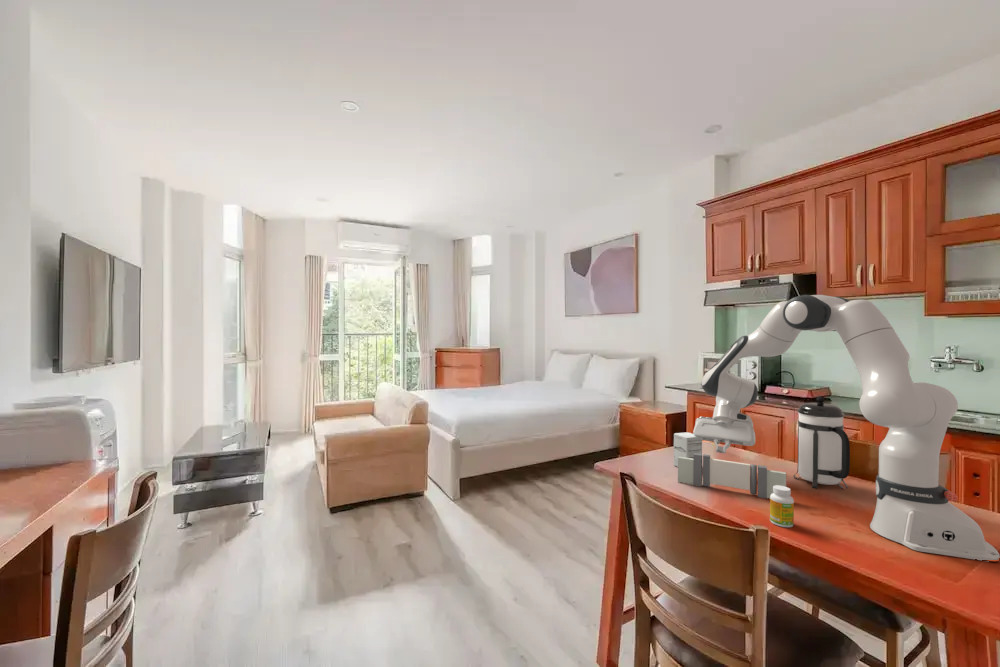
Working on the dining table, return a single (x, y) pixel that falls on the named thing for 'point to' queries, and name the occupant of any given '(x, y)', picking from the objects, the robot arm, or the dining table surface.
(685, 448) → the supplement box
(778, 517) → the supplement bottle
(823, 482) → the coffee press
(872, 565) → the dining table surface
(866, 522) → the dining table surface
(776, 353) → the robot arm
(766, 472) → the fence
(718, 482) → the gate
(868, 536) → the dining table surface
